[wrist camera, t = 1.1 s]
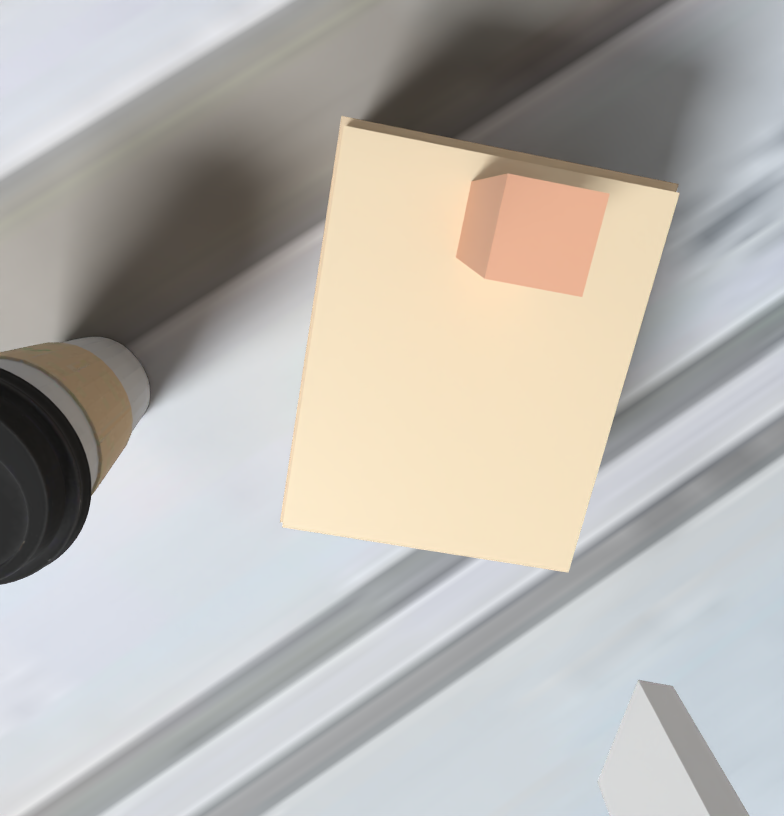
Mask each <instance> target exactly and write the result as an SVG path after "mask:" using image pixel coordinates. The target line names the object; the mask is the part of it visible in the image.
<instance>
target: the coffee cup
mask: <svg viewBox="0 0 784 816" xmlns="http://www.w3.org/2000/svg"><path fill="white" fill-rule="evenodd" d="M149 400H150V386H149V382H148V378H147V375H146V373H145V371H144V369H143V367H142V365H141V364H140V362H139V361H138V359H137V358H136V357H135V356H134V355H133V354H132V353H131V352H130V351H129V350H128V349H127V348H126V347H124V346H123V345H121V344H120V343H118V342H116V341H114V340H112V339H108V338H104V337H86V338H80V339H75V340H71V341H66V342H61V343H43V344H38V345H33V346H28V347H23V348H19V349H14V350H9V351H4V352H0V585H1V584H6V583H10V582H14V581H17V580H20V579H23V578H25V577H27V576H30V575H32V574H34V573H35V572H37V571H39V570H40V569H42V568H43V567H45V566H47V565H48V564H50V563H52V562H53V561H54V560H56V559H57V558H58V557H60V556H61V555H62V554H63V553H64V552H65V551H66V550H67V549H68V548H69V547H70V546H71V545H72V543H73V542H74V541H75V539H76V538H77V536H78V535H79V533H80V531H81V530H82V527H83V525H84V523H85V521H86V518H87V515H88V511H89V507H90V501H91V496H92V494H93V493H94V492H95V490H96V489H97V487H98V486H99V484H100V483H101V482H102V480H103V479H104V477H105V476H106V474H107V473H108V471H109V470H110V468H111V467H112V465H113V464H114V463H115V461H116V460H117V458H118V457H119V455H120V454H121V452H122V451H123V449H124V448H125V446H126V445H127V443H128V440H129V438H130V435H131V432H132V431H133V429H134V428H135V427H136V425H137V424H138V422H139V421H140V419H141V418H142V416H143V415H144V413H145V412H146V409H147V407H148V405H149Z"/></svg>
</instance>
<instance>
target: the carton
mask: <svg viewBox="0 0 784 816" xmlns="http://www.w3.org/2000/svg"><path fill="white" fill-rule="evenodd" d="M344 126H349V127H354V128H359V129H364V130H369V131H374V132H379V133H384V134H389V135H394V136H399V137H404V138H409V139H414V140H419V141H424V142H429V143H434V144H439V145H444V146H449V147H454V148H459V149H464V150H469V151H474V152H479V153H484V154H489V155H494V156H499V157H504V158H509V159H513V160H518V161H523V162H528V163H533V164H538V165H543V166H548V167H553V168H558V169H563V170H568V171H573V172H578V173H583V174H588V175H593V176H598V177H603V178H608V179H613V180H618V181H623V182H628V183H633V184H638V185H643V186H648V187H653V188H658V189H663V190H668V191H673V192H676V191H677V188H678V184H676V183H671V182H666V181H661V180H656V179H651V178H646V177H641V176H636V175H631V174H626V173H621V172H616V171H612V170H607V169H602V168H597V167H592V166H587V165H582V164H577V163H572V162H567V161H562V160H557V159H552V158H547V157H542V156H537V155H532V154H527V153H522V152H517V151H512V150H507V149H503V148H498V147H493V146H488V145H483V144H478V143H473V142H468V141H463V140H458V139H453V138H448V137H443V136H438V135H433V134H428V133H423V132H418V131H413V130H408V129H403V128H398V127H393V126H389V125H384V124H379V123H374V122H369V121H364V120H359V119H354V118H349V117H344V116H342V117H341V123H340V130H339V136H338V143H337V149H336V156H335V163H334V169H333V176H332V182H331V189H330V196H329V202H328V209H327V215H326V222H325V229H324V235H323V242H322V248H321V255H320V262H319V268H318V275H317V281H316V288H315V295H314V301H313V308H312V314H311V321H310V328H309V334H308V341H307V347H306V354H305V360H304V367H303V374H302V380H301V387H300V393H299V400H298V407H297V413H296V420H295V426H294V433H293V440H292V446H291V453H290V459H289V466H288V473H287V479H286V486H285V492H284V499H283V506H282V512H281V519H280V522H283V519H284V513H285V506H286V500H287V493H288V487H289V480H290V474H291V467H292V461H293V454H294V448H295V441H296V435H297V428H298V421H299V415H300V408H301V402H302V395H303V389H304V382H305V376H306V369H307V363H308V356H309V350H310V343H311V337H312V330H313V324H314V317H315V310H316V304H317V297H318V291H319V284H320V278H321V271H322V265H323V258H324V252H325V245H326V239H327V232H328V226H329V219H330V213H331V206H332V199H333V193H334V186H335V180H336V173H337V167H338V160H339V154H340V147H341V141H342V134H343V128H344Z"/></svg>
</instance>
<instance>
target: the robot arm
mask: <svg viewBox="0 0 784 816" xmlns="http://www.w3.org/2000/svg"><path fill="white" fill-rule="evenodd" d="M597 782H598V785H599V788H600V790H601V793H602V796H603V799H604V801H605V804H606V807H607V809H608V812H609V815H610V816H749V814H748V812H747V811H746V809H745V807H744V806H743V804H742V802H741V801H740V799H739V797H738V796H737V794H736V792H735V790H734V789H733V787H732V785H731V784H730V782H729V780H728V779H727V777H726V775H725V774H724V772H723V770H722V768H721V767H720V765H719V763H718V762H717V760H716V758H715V757H714V755H713V753H712V752H711V750H710V748H709V746H708V745H707V743H706V741H705V740H704V738H703V736H702V735H701V733H700V731H699V730H698V728H697V726H696V725H695V723H694V721H693V719H692V718H691V716H690V714H689V713H688V711H687V709H686V708H685V706H684V704H683V703H682V701H681V699H680V697H679V696H678V694H677V692H676V691H675V689H674V687H673V686H670V685H664V684H658V683H653V682H647V681H642V680H638V681H637V684H636V686H635V689H634V691H633V694H632V696H631V699H630V701H629V704H628V706H627V709H626V711H625V714H624V716H623V719H622V721H621V724H620V726H619V729H618V731H617V734H616V736H615V739H614V741H613V744H612V746H611V749H610V751H609V754H608V756H607V759H606V761H605V764H604V766H603V769H602V771H601V774H600V776H599V779H598V781H597Z"/></svg>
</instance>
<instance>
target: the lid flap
mask: <svg viewBox="0 0 784 816" xmlns="http://www.w3.org/2000/svg"><path fill="white" fill-rule="evenodd" d="M679 194H680V193H678V192H673V191H668V190H663V189H658V188H653V187H648V186H643V185H638V184H633V183H628V182H623V181H618V180H613V179H608V178H603V177H598V176H593V175H588V174H583V173H578V172H573V171H568V170H563V169H558V168H553V167H548V166H543V165H538V164H533V163H528V162H523V161H518V160H513V159H509V158H504V157H499V156H494V155H489V154H484V153H479V152H474V151H469V150H464V149H459V148H454V147H449V146H444V145H439V144H434V143H429V142H424V141H419V140H414V139H409V138H404V137H399V136H394V135H389V134H384V133H379V132H374V131H369V130H364V129H359V128H354V127H349V126H344V128H343V134H342V141H341V147H340V154H339V160H338V167H337V173H336V180H335V186H334V193H333V199H332V206H331V213H330V219H329V226H328V232H327V239H326V245H325V252H324V258H323V265H322V271H321V278H320V284H319V291H318V297H317V304H316V310H315V317H314V324H313V330H312V337H311V343H310V350H309V356H308V363H307V369H306V376H305V382H304V389H303V395H302V402H301V408H300V415H299V421H298V428H297V435H296V441H295V448H294V454H293V461H292V467H291V474H290V480H289V487H288V493H287V500H286V506H285V513H284V519H283V526H282V527H284V528H291V529H297V530H303V531H310V532H316V533H322V534H329V535H335V536H341V537H347V538H354V539H360V540H366V541H373V542H379V543H385V544H392V545H398V546H404V547H411V548H417V549H423V550H430V551H436V552H442V553H449V554H455V555H461V556H468V557H474V558H480V559H486V560H493V561H499V562H505V563H512V564H518V565H524V566H531V567H537V568H543V569H550V570H556V571H562V572H569V568H570V565H571V562H572V558H573V555H574V551H575V548H576V545H577V541H578V538H579V534H580V531H581V528H582V524H583V521H584V517H585V514H586V510H587V507H588V504H589V500H590V497H591V493H592V490H593V487H594V483H595V480H596V476H597V473H598V470H599V466H600V463H601V459H602V456H603V453H604V449H605V446H606V442H607V439H608V436H609V432H610V429H611V425H612V422H613V418H614V415H615V412H616V408H617V405H618V401H619V398H620V395H621V391H622V388H623V384H624V381H625V378H626V374H627V371H628V367H629V364H630V361H631V357H632V354H633V350H634V347H635V344H636V340H637V337H638V333H639V330H640V326H641V323H642V320H643V316H644V313H645V309H646V306H647V303H648V299H649V296H650V292H651V289H652V286H653V282H654V279H655V275H656V272H657V269H658V265H659V262H660V258H661V255H662V252H663V248H664V245H665V241H666V238H667V234H668V231H669V228H670V224H671V221H672V217H673V214H674V211H675V207H676V204H677V200H678V197H679Z"/></svg>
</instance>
